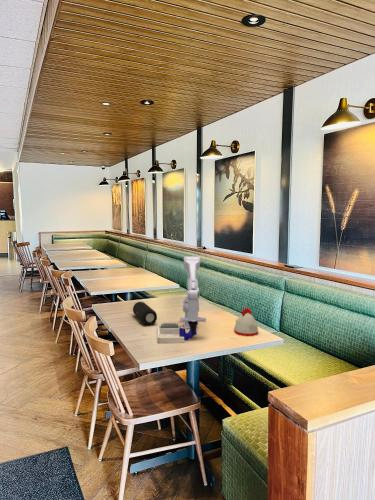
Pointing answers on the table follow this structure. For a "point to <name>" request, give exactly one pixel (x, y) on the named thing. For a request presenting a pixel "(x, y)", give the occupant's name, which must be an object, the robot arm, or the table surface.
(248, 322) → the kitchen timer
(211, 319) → the table surface
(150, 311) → the portable speaker
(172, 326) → the seated twin plug
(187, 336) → the cable clip
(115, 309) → the table surface
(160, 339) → the beige tray
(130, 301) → the table surface
